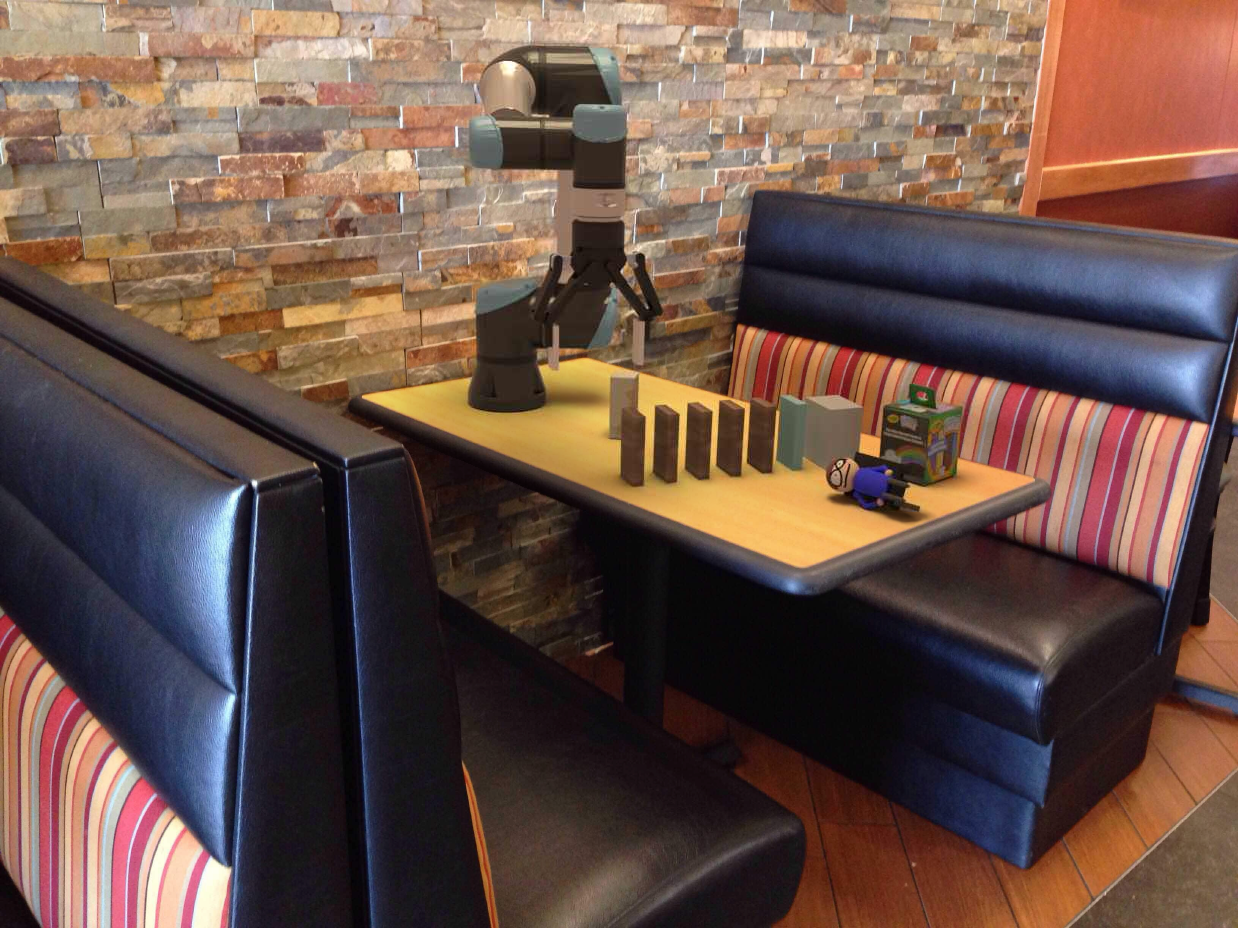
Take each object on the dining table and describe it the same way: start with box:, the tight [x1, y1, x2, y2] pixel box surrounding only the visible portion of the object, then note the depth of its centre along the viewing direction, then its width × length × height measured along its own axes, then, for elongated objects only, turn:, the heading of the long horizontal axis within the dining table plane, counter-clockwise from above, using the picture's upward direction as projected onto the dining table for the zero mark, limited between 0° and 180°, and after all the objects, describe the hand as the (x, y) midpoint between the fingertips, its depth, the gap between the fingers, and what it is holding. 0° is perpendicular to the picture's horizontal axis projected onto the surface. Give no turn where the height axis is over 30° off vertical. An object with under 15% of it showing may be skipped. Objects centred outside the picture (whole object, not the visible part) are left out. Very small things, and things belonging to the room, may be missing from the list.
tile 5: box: [746, 396, 777, 475], centre depth 176 cm, size 2×6×11 cm, turn 20°
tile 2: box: [652, 404, 681, 484], centre depth 170 cm, size 2×6×11 cm, turn 20°
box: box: [608, 370, 640, 440], centre depth 191 cm, size 5×4×11 cm
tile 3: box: [684, 401, 714, 481], centre depth 172 cm, size 2×6×11 cm, turn 20°
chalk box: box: [878, 382, 964, 487], centre depth 174 cm, size 9×9×15 cm
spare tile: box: [775, 394, 807, 472], centre depth 178 cm, size 2×6×11 cm, turn 20°
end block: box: [803, 394, 864, 471], centre depth 180 cm, size 8×6×10 cm
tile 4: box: [715, 399, 746, 478], centre depth 174 cm, size 2×6×11 cm, turn 20°
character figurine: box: [825, 451, 927, 513], centre depth 161 cm, size 8×7×15 cm
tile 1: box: [619, 407, 647, 488], centre depth 169 cm, size 2×6×11 cm, turn 20°
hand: (596, 366), depth 162 cm, fingers open, 12 cm apart
